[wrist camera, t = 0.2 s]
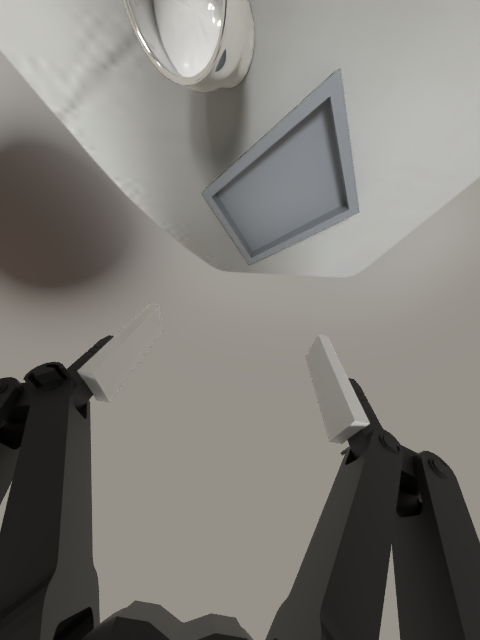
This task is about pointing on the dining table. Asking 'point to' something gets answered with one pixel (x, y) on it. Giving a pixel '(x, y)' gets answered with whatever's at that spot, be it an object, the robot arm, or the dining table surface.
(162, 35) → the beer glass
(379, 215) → the dining table surface
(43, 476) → the robot arm
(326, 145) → the tray
